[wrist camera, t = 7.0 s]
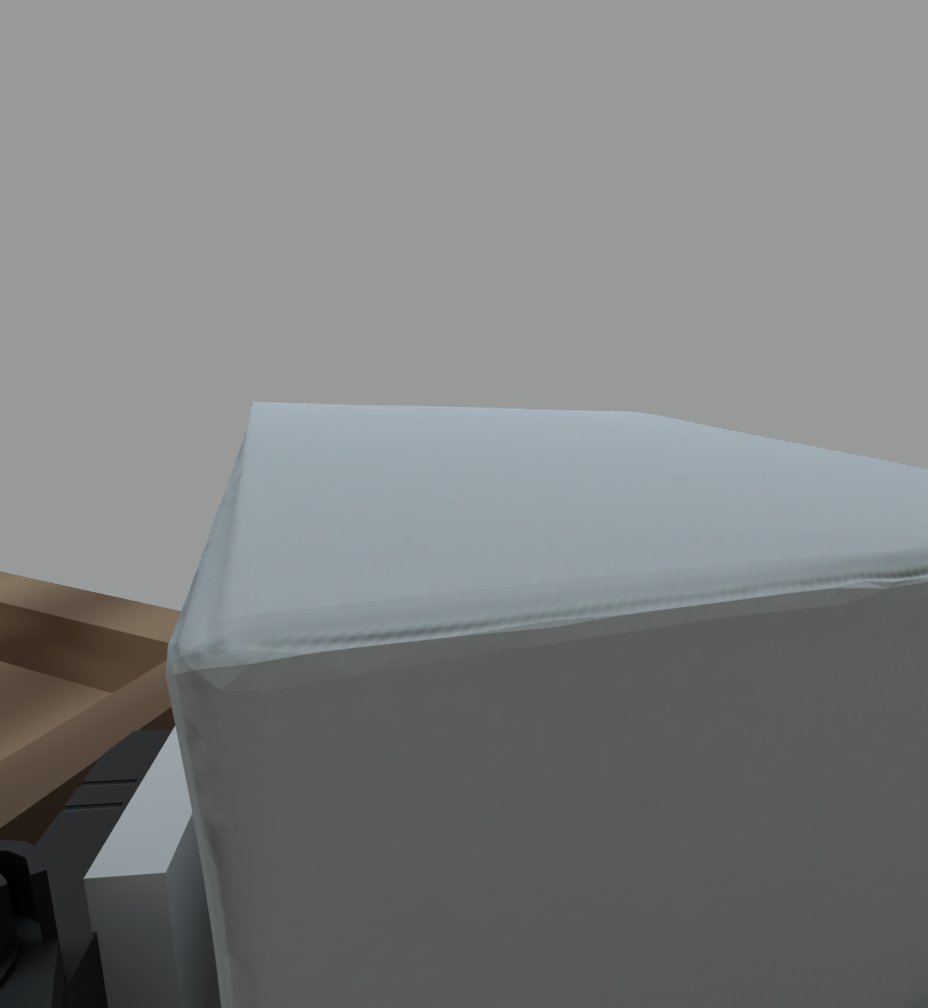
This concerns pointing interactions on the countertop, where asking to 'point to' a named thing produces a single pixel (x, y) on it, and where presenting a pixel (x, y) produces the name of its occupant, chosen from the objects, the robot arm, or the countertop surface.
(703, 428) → the supplement box
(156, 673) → the tray
